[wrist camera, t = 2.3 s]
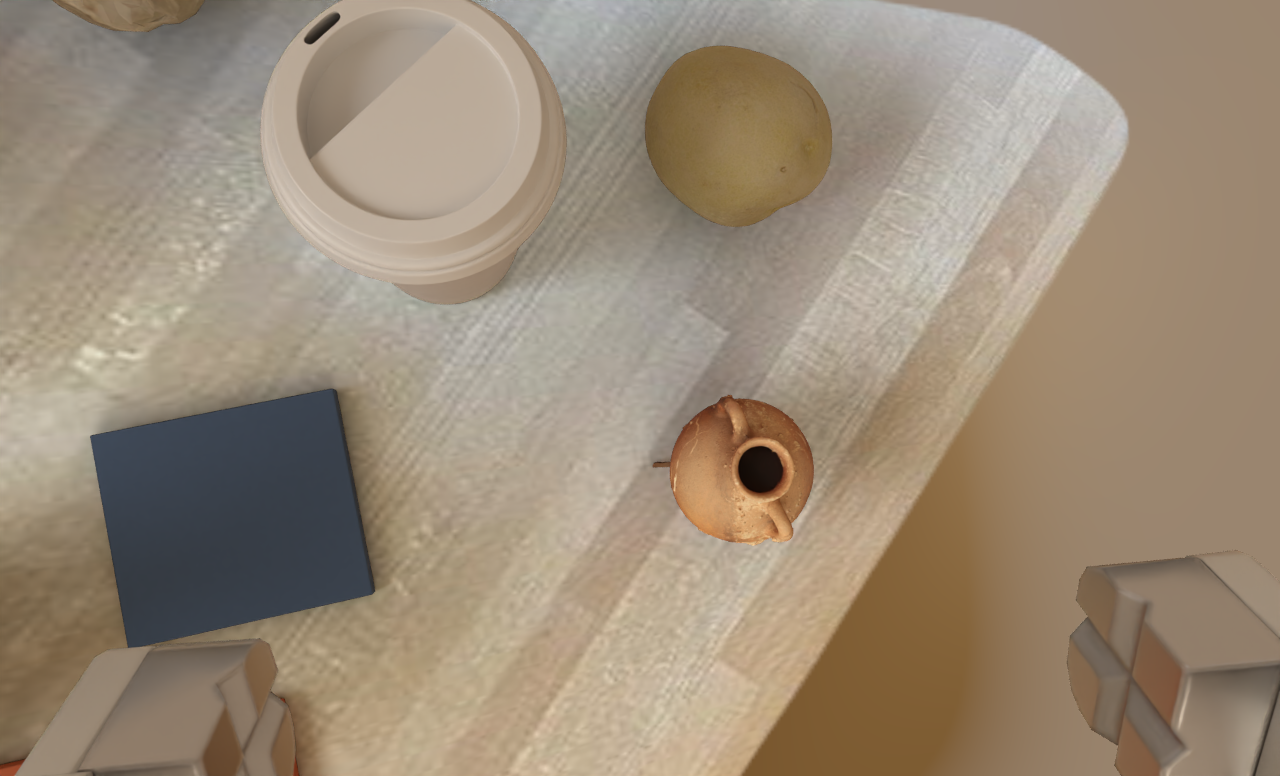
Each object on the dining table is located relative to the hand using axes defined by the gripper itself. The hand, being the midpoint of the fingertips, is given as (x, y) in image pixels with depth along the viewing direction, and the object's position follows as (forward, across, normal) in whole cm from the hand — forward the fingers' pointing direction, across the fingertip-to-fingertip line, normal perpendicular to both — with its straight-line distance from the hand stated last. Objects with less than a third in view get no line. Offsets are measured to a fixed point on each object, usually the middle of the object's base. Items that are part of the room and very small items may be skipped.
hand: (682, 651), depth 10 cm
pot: (+31, -4, +16) cm, 35 cm away
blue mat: (+28, +17, +15) cm, 36 cm away
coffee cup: (+35, +8, +5) cm, 36 cm away
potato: (+38, -5, +4) cm, 38 cm away
